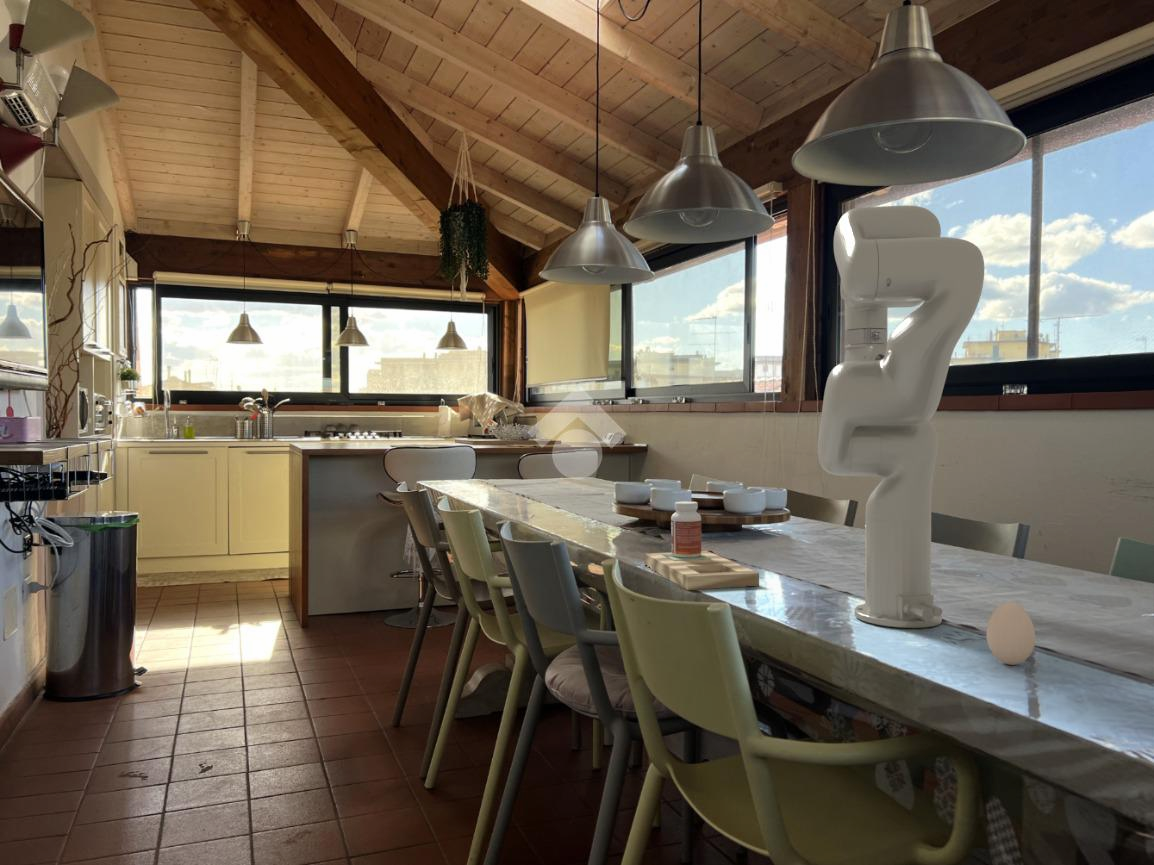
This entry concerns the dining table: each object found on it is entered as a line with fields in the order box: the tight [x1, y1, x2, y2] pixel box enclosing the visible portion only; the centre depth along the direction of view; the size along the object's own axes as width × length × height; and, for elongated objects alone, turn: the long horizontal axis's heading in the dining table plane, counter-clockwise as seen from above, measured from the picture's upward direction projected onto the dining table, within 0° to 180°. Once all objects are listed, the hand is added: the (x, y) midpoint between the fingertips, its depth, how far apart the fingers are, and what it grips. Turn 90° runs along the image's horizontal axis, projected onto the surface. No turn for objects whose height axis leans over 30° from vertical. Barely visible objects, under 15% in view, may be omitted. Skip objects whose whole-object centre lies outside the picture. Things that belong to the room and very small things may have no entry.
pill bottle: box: [670, 500, 702, 558], centre depth 172 cm, size 6×6×11 cm
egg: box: [986, 601, 1036, 666], centre depth 106 cm, size 6×6×8 cm
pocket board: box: [643, 550, 760, 591], centre depth 165 cm, size 26×14×3 cm, turn 13°
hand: (865, 432), depth 155 cm, fingers open, 9 cm apart
